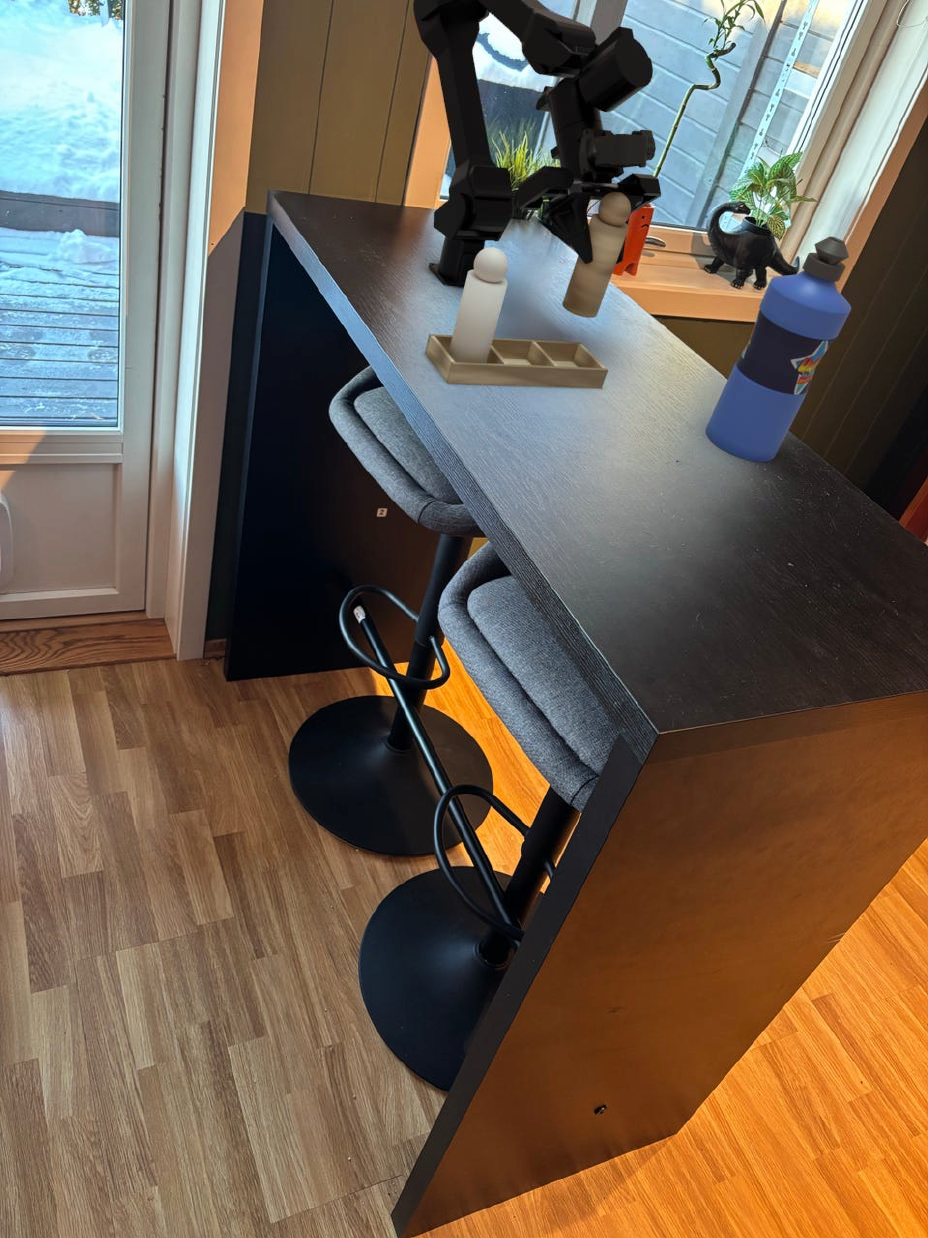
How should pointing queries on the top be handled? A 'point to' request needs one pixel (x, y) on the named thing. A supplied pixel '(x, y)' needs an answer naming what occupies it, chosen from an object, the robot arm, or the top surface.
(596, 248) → the pepper mill
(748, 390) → the water bottle
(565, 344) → the caddy
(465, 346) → the salt mill
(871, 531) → the top surface
